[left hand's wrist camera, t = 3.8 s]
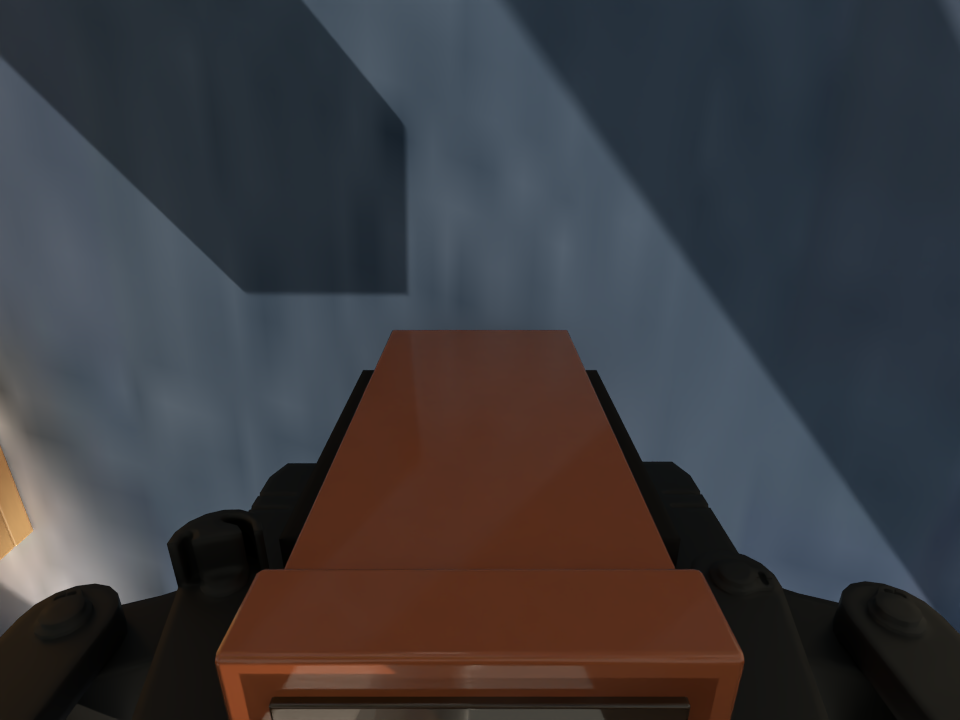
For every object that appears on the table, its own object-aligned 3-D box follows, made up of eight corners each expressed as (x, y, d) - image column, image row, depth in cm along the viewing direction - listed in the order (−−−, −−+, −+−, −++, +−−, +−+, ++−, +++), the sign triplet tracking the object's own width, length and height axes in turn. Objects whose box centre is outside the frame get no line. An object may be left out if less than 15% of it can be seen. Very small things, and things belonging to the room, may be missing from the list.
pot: (565, 484, 16) (680, 957, 7) (394, 484, 16) (279, 957, 7) (576, 322, 14) (754, 668, 5) (383, 322, 14) (203, 668, 5)
